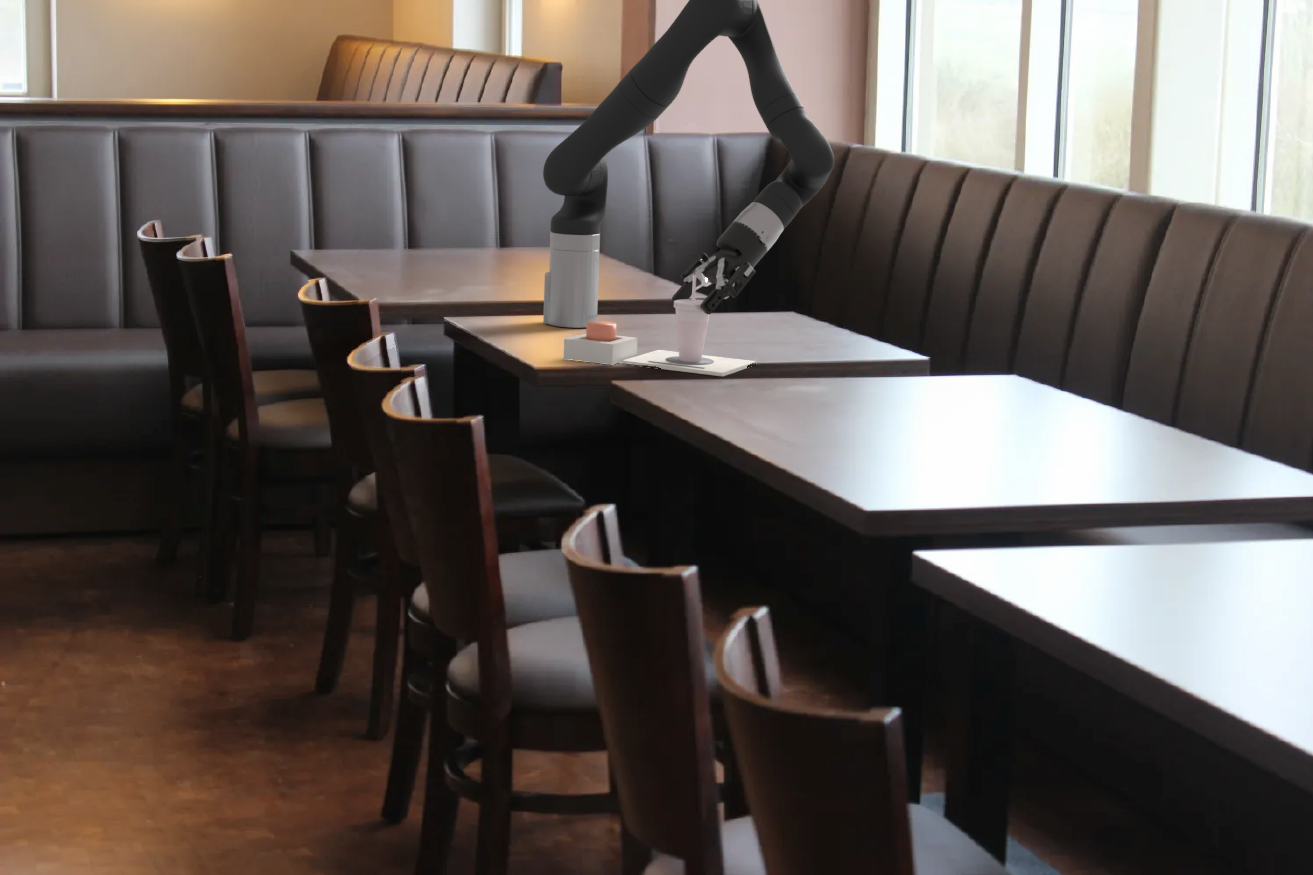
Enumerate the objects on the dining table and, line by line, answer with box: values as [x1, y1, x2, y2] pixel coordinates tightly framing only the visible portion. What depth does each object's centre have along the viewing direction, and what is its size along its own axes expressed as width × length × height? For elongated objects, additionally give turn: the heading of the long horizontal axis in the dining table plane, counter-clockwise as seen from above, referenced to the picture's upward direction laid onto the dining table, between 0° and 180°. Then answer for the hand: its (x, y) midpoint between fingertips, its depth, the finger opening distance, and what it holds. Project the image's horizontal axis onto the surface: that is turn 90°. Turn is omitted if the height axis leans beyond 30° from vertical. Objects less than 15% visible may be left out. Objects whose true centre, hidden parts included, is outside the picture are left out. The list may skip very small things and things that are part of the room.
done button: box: [585, 320, 618, 342], centre depth 282 cm, size 5×5×4 cm
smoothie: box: [673, 275, 710, 362], centre depth 280 cm, size 6×6×14 cm
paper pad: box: [622, 349, 757, 377], centre depth 282 cm, size 18×14×1 cm
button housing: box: [563, 332, 638, 364], centre depth 283 cm, size 9×9×4 cm
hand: (689, 307), depth 280 cm, fingers open, 8 cm apart
